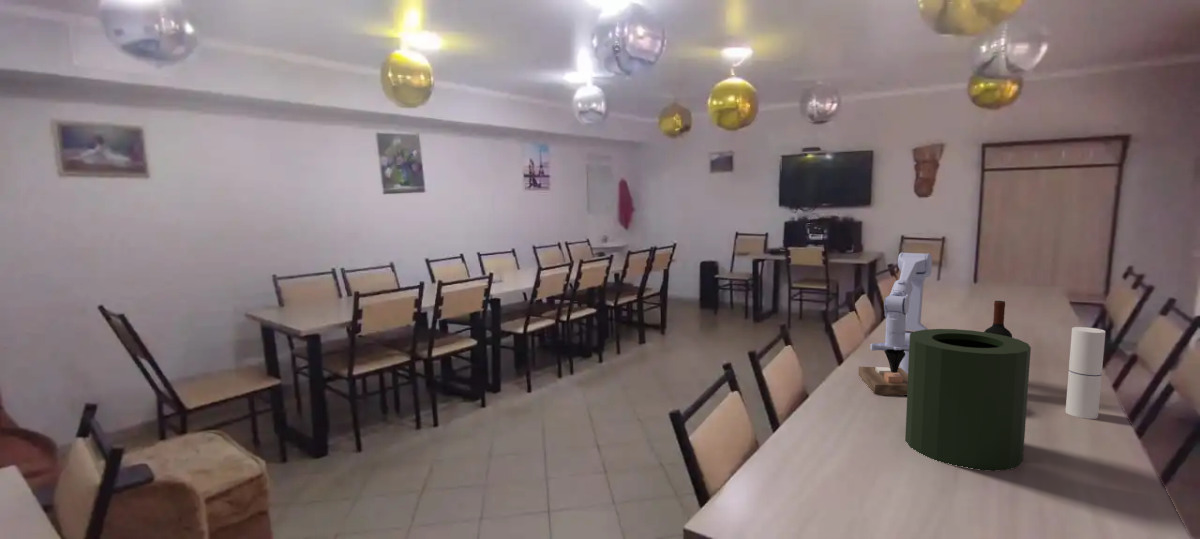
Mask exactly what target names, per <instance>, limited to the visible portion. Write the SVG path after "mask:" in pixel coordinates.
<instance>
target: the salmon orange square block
mask: <svg viewBox="0 0 1200 539" xmlns="http://www.w3.org/2000/svg"><path fill="white" fill-rule="evenodd" d="M884 379H885V380H886V381H887V382H888V383H903V376H902V375H900V374H899V373H887V372H884Z"/></svg>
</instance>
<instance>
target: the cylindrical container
mask: <svg viewBox="0 0 1200 539" xmlns="http://www.w3.org/2000/svg"><path fill="white" fill-rule="evenodd" d="M1070 338H1071V339H1070V349H1069V363H1068V375H1067V376H1068V377H1067V388H1066V403H1065V413H1066V414H1068V415H1070V416H1072V417H1075V418H1079V417H1080V419H1085V418H1086V419H1087V420H1096V419H1098V418H1099V409H1100V400H1101V390H1102V389H1101V385H1102V374H1103V365H1104V364H1103V362H1104V354H1105V344H1106V343H1105V341H1106V330H1104V329H1101V328H1096V327H1085V326H1075V327H1074V326H1073V327H1071V337H1070Z"/></svg>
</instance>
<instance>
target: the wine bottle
mask: <svg viewBox="0 0 1200 539" xmlns="http://www.w3.org/2000/svg"><path fill="white" fill-rule="evenodd" d="M993 306H994V308H993V319H992V320H993V322H992V325H991V326H990V327H988V328H986V329H985V330H984V331H983V332H987V333H993V334H998V335H1003V336H1008V337H1011V338H1013V334H1012V333H1011V331H1010V330H1009V329H1007V327H1005V324H1004V323H1005V313H1006V312H1005V308H1006V301H1005V300H994V304H993Z"/></svg>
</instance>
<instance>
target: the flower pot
mask: <svg viewBox="0 0 1200 539" xmlns="http://www.w3.org/2000/svg"><path fill="white" fill-rule="evenodd" d="M1031 350H1032V347H1031V346H1030V344H1029V343H1027V342H1025V341H1024V340H1021V339H1018V338H1015V337H1012V338H1011V337H1008V336H1003V335H998V334H993V333H987V332H984V331H980V330H979V331H978V330H971V329H970V330H967V329H958V328H957V329H956V328H932V329H931V328H930V329H928V328H927V330H920V331H913V333H911V334H910V343H909V366H908V389H907V396H906V412H905V414H906V415H905V434H904V435H905V440H904V441H905V442H907V443H908V444H907V443H906V444H907V445H908V446H909V448H910V449H912V448H913V449H912V450H914V451H915V450H916V451H915V452H917V453H918V452H919V453H918V454H920V453H921V454H923V455H922V456H924V455H925V456H924V457H926V456H927V457H926V458H928V457H929V458H928V459H931V460H933V459H934V460H933V461H935V460H937V461H936V462H939V461H941V462H940V463H942V462H944V463H943V464H945V463H949V464H952V465H957V466H963V467H968V468H973V469H980V470H979V471H985V470H991V471H990V472H996V471H995V470H1000V471H1008V470H1007V469H1010V470H1012V469H1011V468H1013V469H1015V468H1017V466H1018V467H1020V466H1019V465H1021V464H1022V463H1023V461H1024V451H1025V436H1026V435H1025V433H1026V421H1027V409H1028V408H1027V405H1028V394H1029V377H1030V365H1031V362H1030V361H1031ZM921 454H920V455H921ZM949 464H948V465H949ZM952 465H951V466H952ZM973 469H972V470H973Z"/></svg>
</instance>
